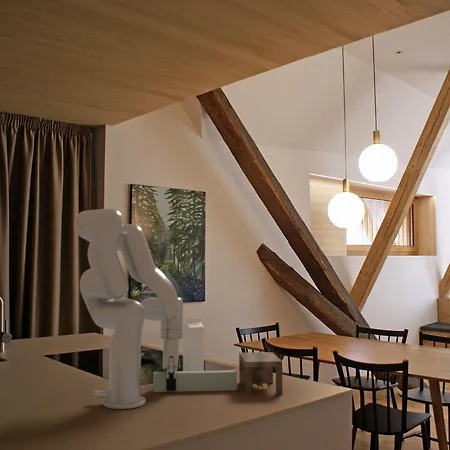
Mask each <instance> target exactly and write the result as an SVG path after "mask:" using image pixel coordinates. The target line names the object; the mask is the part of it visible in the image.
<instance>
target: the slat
mask: <svg viewBox="0 0 450 450" xmlns="http://www.w3.org/2000/svg"><path fill="white" fill-rule="evenodd" d="M237 372H238V371H237V370H233V369H231V370H204V371H183V370H182V371H181V370H180V371H176V370H175V378H176V391H167V390H166V378H167V371H153V373H152V375H153V376H152V393H171V392H172V393H174V392H178V393H179V392H209V391H210V392H211V391H212V392H215V391H216V392H217V391H238V373H237Z"/></svg>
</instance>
